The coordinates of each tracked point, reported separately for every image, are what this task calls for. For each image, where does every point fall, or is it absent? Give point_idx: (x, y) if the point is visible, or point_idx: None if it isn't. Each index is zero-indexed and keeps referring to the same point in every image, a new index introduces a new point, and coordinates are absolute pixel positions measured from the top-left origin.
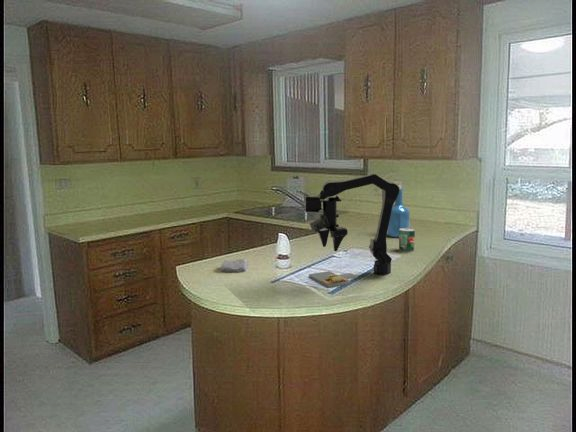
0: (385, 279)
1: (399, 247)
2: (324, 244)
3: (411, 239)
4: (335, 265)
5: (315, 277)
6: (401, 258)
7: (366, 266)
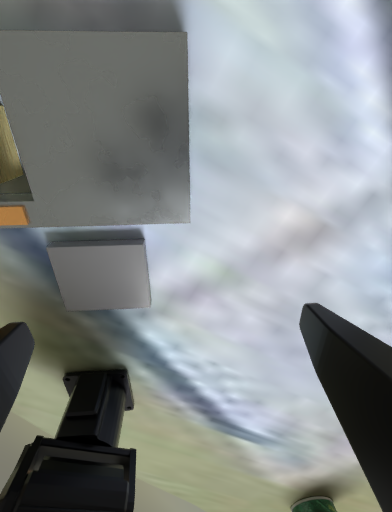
0: (44, 377)
1: (326, 508)
2: (316, 336)
3: None
4: None
5: (72, 38)
6: (252, 478)
7: (236, 391)
